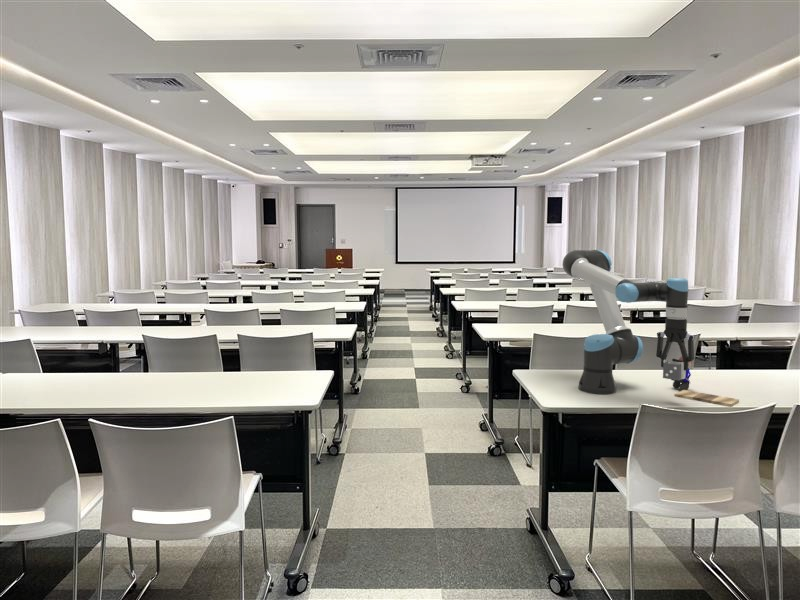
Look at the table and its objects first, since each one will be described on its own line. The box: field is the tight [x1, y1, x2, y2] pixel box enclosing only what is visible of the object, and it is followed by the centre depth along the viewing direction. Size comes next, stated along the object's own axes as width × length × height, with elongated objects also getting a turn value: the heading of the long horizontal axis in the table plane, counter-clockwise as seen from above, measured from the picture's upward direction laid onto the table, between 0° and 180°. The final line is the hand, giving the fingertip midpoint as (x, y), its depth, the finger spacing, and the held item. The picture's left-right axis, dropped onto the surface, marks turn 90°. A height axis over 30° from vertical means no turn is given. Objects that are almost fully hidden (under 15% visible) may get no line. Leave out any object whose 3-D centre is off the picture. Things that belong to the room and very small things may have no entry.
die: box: [662, 360, 681, 381], centre depth 226 cm, size 6×6×6 cm
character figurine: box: [670, 355, 693, 391], centre depth 247 cm, size 8×7×15 cm
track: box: [674, 389, 740, 408], centre depth 234 cm, size 21×10×1 cm, turn 44°
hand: (674, 377), depth 227 cm, fingers closed on die, 6 cm apart
